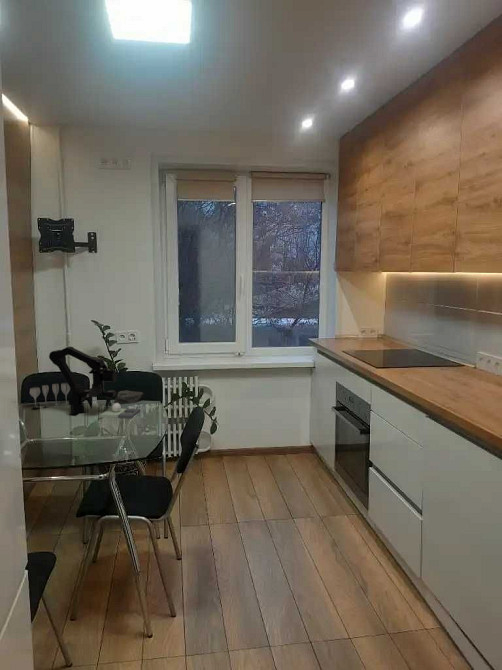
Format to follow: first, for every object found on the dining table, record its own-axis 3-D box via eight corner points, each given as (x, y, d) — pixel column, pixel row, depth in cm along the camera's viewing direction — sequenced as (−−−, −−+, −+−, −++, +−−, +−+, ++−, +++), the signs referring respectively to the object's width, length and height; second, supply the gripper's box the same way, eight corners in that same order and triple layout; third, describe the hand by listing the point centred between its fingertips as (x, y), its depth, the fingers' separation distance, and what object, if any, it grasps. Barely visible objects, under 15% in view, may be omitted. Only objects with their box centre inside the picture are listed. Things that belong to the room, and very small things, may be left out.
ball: (110, 412, 275) (110, 404, 275) (113, 410, 280) (113, 401, 280) (119, 413, 275) (118, 404, 274) (122, 410, 280) (122, 402, 279)
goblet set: (79, 402, 306) (78, 381, 304) (80, 404, 300) (80, 382, 299) (30, 407, 293) (29, 385, 292) (30, 409, 288) (29, 387, 287)
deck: (100, 417, 271) (100, 414, 271) (110, 410, 285) (110, 408, 285) (132, 418, 269) (131, 415, 269) (140, 411, 283) (140, 409, 283)
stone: (117, 402, 290) (114, 387, 295) (113, 408, 296) (111, 393, 301) (147, 400, 300) (144, 385, 305) (142, 406, 306) (139, 392, 311)
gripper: (75, 383, 270) (76, 411, 271) (108, 384, 268) (109, 412, 269) (84, 379, 281) (85, 406, 282) (116, 380, 279) (117, 407, 280)
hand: (99, 408), depth 278 cm, fingers open, 9 cm apart
